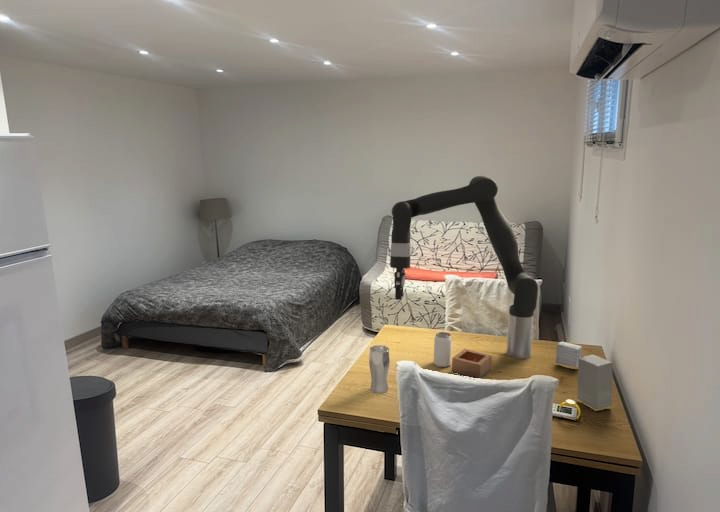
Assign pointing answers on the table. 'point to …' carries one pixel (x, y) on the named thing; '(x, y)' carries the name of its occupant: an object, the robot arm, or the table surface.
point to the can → (442, 349)
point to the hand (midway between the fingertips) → (399, 297)
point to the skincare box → (595, 381)
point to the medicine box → (568, 354)
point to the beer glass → (379, 368)
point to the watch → (571, 403)
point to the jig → (471, 363)
